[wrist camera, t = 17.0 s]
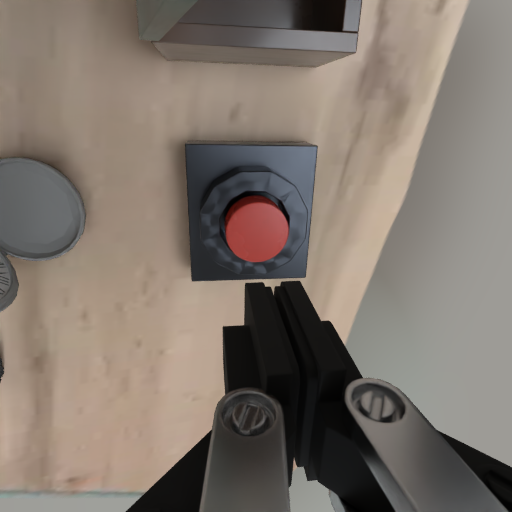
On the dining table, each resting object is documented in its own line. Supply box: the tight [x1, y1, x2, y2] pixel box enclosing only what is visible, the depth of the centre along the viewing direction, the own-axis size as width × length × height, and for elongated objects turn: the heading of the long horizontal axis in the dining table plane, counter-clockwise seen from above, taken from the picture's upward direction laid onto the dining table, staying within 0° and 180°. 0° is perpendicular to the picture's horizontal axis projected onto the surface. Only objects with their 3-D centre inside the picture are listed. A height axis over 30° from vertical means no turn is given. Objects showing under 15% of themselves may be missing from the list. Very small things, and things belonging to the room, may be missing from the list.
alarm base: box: [185, 141, 317, 281], centre depth 23 cm, size 9×8×4 cm
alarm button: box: [225, 195, 289, 262], centre depth 21 cm, size 4×4×2 cm
